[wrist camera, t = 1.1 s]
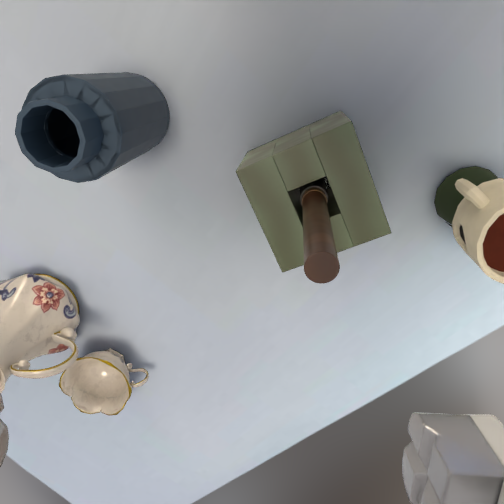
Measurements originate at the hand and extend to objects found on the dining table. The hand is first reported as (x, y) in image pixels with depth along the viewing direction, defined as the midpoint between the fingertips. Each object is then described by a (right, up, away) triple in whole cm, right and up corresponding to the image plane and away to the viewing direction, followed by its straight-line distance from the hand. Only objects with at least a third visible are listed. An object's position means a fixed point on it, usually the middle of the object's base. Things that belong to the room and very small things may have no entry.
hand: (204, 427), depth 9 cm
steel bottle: (-11, +17, +36) cm, 41 cm away
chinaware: (-25, -6, +47) cm, 53 cm away
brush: (+7, +11, +36) cm, 39 cm away
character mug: (+22, +9, +36) cm, 43 cm away
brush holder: (+7, +11, +36) cm, 39 cm away
